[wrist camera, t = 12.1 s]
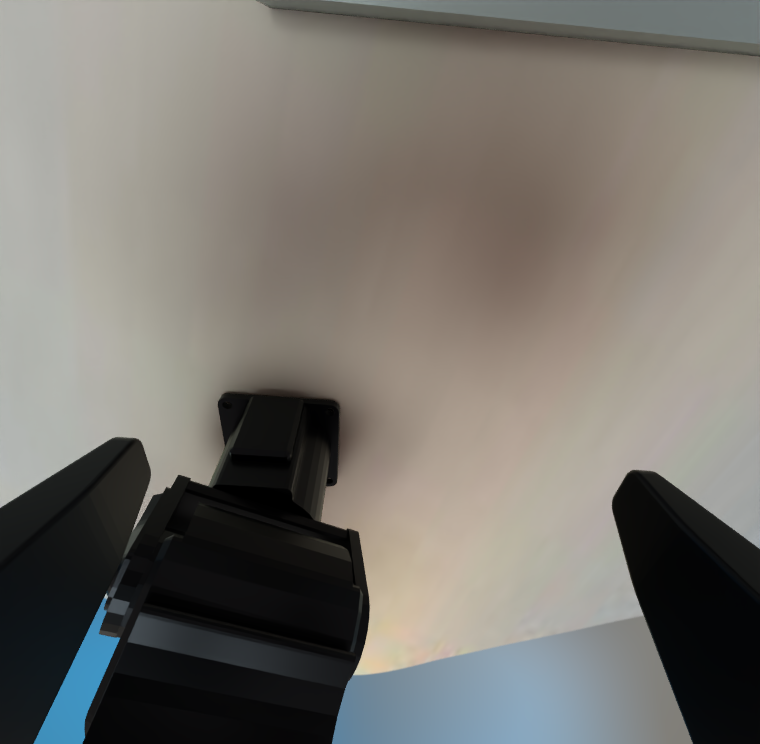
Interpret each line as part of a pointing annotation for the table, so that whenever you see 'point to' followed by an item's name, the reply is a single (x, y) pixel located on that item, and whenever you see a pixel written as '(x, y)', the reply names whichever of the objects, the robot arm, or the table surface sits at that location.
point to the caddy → (575, 19)
